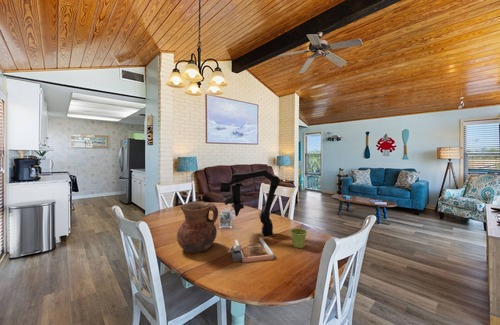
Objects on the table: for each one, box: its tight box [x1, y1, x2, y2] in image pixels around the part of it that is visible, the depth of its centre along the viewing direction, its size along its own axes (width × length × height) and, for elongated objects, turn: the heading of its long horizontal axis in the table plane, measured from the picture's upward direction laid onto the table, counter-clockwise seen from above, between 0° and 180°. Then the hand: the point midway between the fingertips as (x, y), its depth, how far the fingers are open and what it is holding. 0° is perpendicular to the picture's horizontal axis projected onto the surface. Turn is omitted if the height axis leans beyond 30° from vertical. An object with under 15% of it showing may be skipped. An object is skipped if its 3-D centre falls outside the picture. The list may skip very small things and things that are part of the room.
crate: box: [246, 242, 264, 257], centre depth 115 cm, size 7×6×4 cm
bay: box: [234, 237, 275, 263], centre depth 119 cm, size 16×23×2 cm
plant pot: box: [290, 228, 308, 249], centre depth 125 cm, size 9×9×9 cm
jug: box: [176, 200, 219, 254], centre depth 122 cm, size 22×21×25 cm
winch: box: [227, 244, 243, 262], centre depth 108 cm, size 7×6×7 cm
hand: (236, 216), depth 142 cm, fingers closed
